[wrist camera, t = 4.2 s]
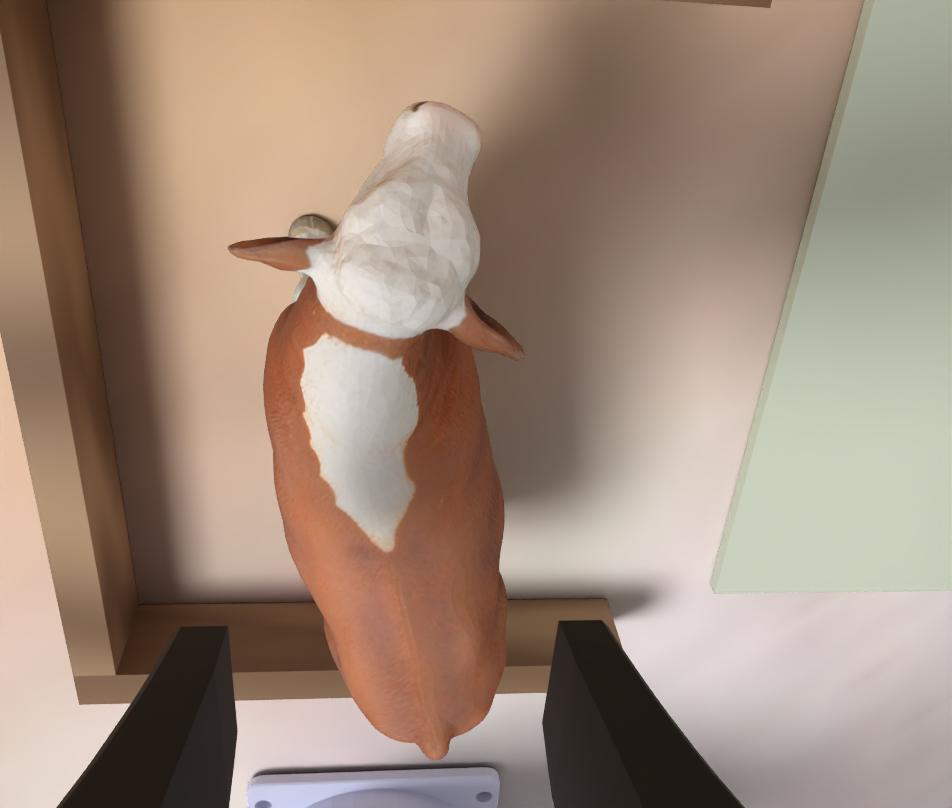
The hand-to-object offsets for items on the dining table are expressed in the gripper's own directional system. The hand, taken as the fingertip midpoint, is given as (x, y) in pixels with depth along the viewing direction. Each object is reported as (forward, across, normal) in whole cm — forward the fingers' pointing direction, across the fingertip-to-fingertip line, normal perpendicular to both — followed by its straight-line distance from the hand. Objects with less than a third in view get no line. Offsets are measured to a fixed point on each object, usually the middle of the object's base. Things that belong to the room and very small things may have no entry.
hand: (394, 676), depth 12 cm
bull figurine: (+10, 0, 0) cm, 11 cm away
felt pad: (+10, -14, -1) cm, 17 cm away
